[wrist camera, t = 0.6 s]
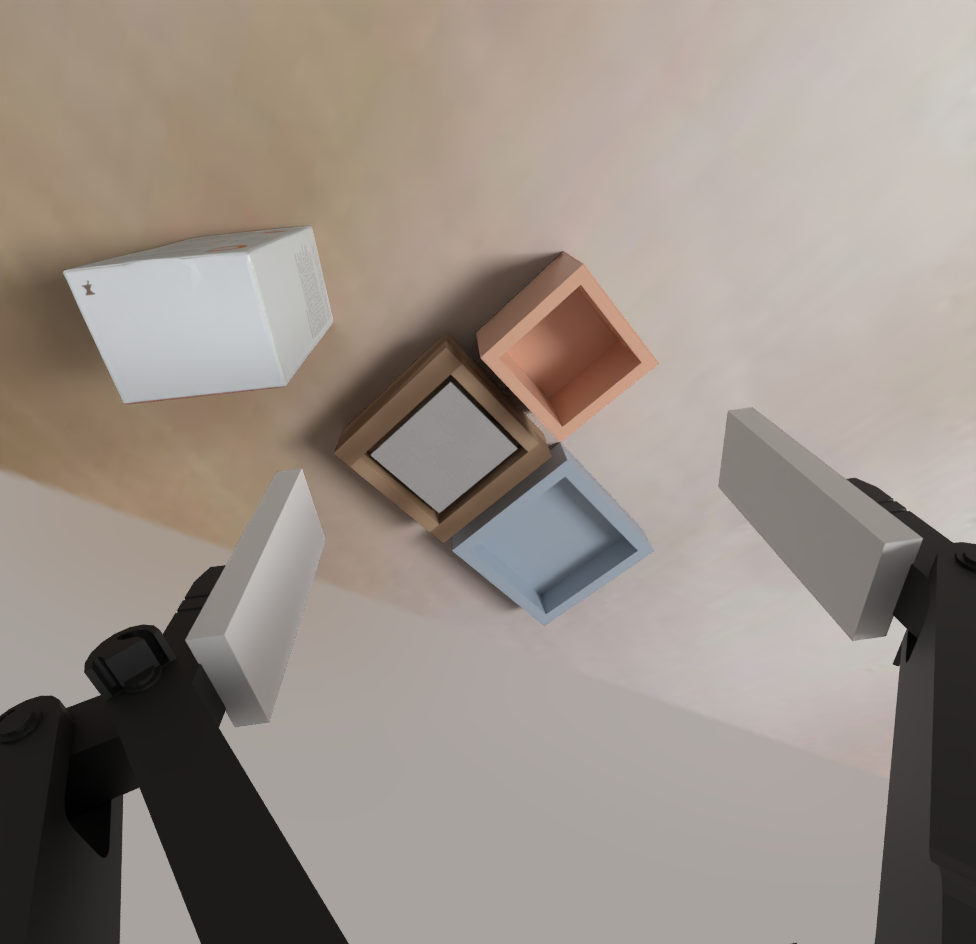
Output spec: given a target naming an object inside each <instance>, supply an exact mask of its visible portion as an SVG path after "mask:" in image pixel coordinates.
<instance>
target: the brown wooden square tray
mask: <svg viewBox="0 0 976 944" xmlns="http://www.w3.org/2000/svg"><path fill="white" fill-rule="evenodd" d="M450 376H451V377H452V378H453V379H454V380H455V381H456V382H457V383H458V384H459V385H460V386H461V387H462V388H463V389H464V390H465V391H466V392H467V393H468V394H469V395H470V396H471V397H472V398H473V399H474V400H475V401H476V402H477V403H478V404H479V405H480V406H481V407H482V408H483V409H484V410H485V411H486V412H487V413H488V414H489V415H490V416H491V417H492V418H493V419H494V420H495V421H496V422H497V423H498V424H499V425H500V426H501V427H502V428H503V429H504V430H505V431H506V432H507V433H508V434H509V435H510V436H511V437H512V438H513V439H514V440H515V441H516V444H517V448H518V449H517V450H516V451H514V452H513V453H512V454H511V455H509V456H508V457H507V458H506V459H505V460H503V461H502V462H501V463H500V464H499V465H497V466H496V467H495V468H494V469H492V470H491V471H490V472H489V473H488V474H486V475H485V476H484V477H483V478H481V479H480V480H479V481H478V482H477V483H475V484H474V485H473V486H472V487H471V488H469V489H468V490H467V491H466V492H464V493H463V494H462V495H461V496H460V497H458V498H457V499H456V500H455V501H454V502H452V503H451V504H450V505H449V506H447V507H446V508H445V509H444V510H443V511H441V512H440V513H438V512H437V511H436V510H435V509H434V508H432V507H431V506H430V505H429V504H428V503H426V502H425V501H424V500H423V499H422V498H421V497H419V496H418V495H417V494H416V493H415V492H413V491H412V490H411V489H410V488H409V487H408V486H406V485H405V484H404V483H403V482H402V481H400V480H399V479H398V478H397V477H396V476H394V475H393V474H392V473H391V472H390V471H389V470H387V469H386V468H385V467H384V466H383V465H381V464H380V463H379V462H378V461H377V460H376V459H374V458H373V457H372V456H371V451H372V448H373V447H374V446H375V445H376V444H377V443H378V442H379V441H380V440H381V439H383V438H384V437H385V436H386V435H387V434H388V433H389V432H390V431H391V430H392V429H393V428H395V427H396V426H397V425H398V424H399V423H400V422H401V421H402V420H403V419H404V418H405V417H407V416H408V415H409V414H410V413H411V412H412V411H413V410H414V409H415V408H416V407H417V406H419V405H420V404H421V403H422V402H423V401H424V400H425V399H426V398H427V397H428V396H429V395H431V394H432V393H433V392H434V391H435V390H436V389H437V388H438V387H439V386H440V385H441V384H443V383H444V382H445V381H446V380H447V379H448V378H449V377H450ZM333 454H335V455H336V456H337V457H338V458H340V459H341V460H342V461H343V462H344V463H346V464H347V465H348V466H349V467H351V468H352V469H353V470H354V471H355V472H357V473H358V474H359V475H360V476H362V477H363V478H364V479H365V480H367V481H368V482H369V483H370V484H371V485H373V486H374V487H375V488H376V489H378V490H379V491H380V492H381V493H382V494H384V495H385V496H386V497H387V498H389V499H390V500H391V501H392V502H393V503H395V504H396V505H397V506H398V507H400V508H401V509H402V510H403V511H404V512H406V513H407V514H408V515H409V516H411V517H412V518H413V519H414V520H415V521H417V522H418V523H419V524H420V525H422V526H423V527H424V528H425V529H426V530H428V531H429V532H430V533H431V534H433V535H434V536H435V537H436V538H438V539H439V540H440V541H441V542H442V543H444V542H446V541H447V540H448V539H449V538H451V537H452V536H453V535H455V534H456V533H457V532H458V531H460V530H461V529H462V528H463V527H465V526H466V525H467V524H468V523H470V522H471V521H472V520H473V519H475V518H476V517H477V516H478V515H480V514H481V513H482V512H483V511H485V510H486V509H487V508H488V507H490V506H491V505H492V504H493V503H495V502H496V501H497V500H498V499H500V498H501V497H502V496H503V495H505V494H506V493H507V492H508V491H510V490H511V489H512V488H513V487H515V486H516V485H517V484H518V483H520V482H521V481H522V480H523V479H525V478H526V477H527V476H528V475H530V474H531V473H532V472H533V471H535V470H536V469H537V468H539V467H540V466H541V465H542V464H544V463H545V462H546V461H547V460H549V459H550V458H551V457H552V456H551V453H550V450H549V448H548V445H547V442H546V440H545V437H544V434H543V433H542V432H541V431H540V430H539V429H538V428H537V427H536V425H535V424H534V423H533V422H532V421H531V420H530V419H529V418H528V417H527V416H526V415H525V414H524V413H523V412H522V411H521V410H520V409H519V408H518V407H517V406H516V405H515V404H514V402H513V401H512V400H511V399H510V398H509V397H508V396H507V395H506V394H505V393H504V392H503V391H502V390H501V389H500V388H499V387H498V386H497V385H496V384H495V383H494V382H493V380H492V379H491V378H490V377H489V376H488V375H487V374H486V373H485V372H484V371H483V370H482V369H481V368H480V367H479V366H478V365H477V364H476V363H475V362H474V361H473V360H472V358H471V357H470V356H469V355H468V354H467V353H466V352H465V351H464V350H463V349H462V348H461V347H460V346H459V345H458V344H457V343H456V342H455V341H454V340H453V339H452V338H451V337H450V335H449V334H448V333H447V332H445V333H444V334H443V335H442V336H441V337H440V338H439V339H438V340H437V341H436V342H435V343H434V344H433V345H432V346H431V347H430V348H429V349H428V350H427V351H426V352H424V353H423V354H422V355H421V356H420V357H419V358H418V359H417V360H416V361H415V362H414V363H413V364H412V365H411V366H410V367H409V368H408V369H407V370H406V371H405V372H403V373H402V374H401V375H400V376H399V377H398V378H397V379H396V380H395V381H394V382H393V383H392V384H391V385H390V386H389V387H388V388H387V389H386V390H385V391H384V392H382V393H381V394H380V395H379V396H378V397H377V398H376V399H375V400H374V401H373V402H372V403H371V404H370V405H369V406H368V407H367V408H366V409H365V410H364V411H363V412H362V413H360V414H359V415H358V416H357V417H356V418H355V419H354V420H353V421H352V422H351V423H350V424H349V425H348V426H347V427H346V428H345V429H344V430H343V432H342V434H341V437H340V439H339V441H338V444H337V446H336V449H335V451H334V453H333Z"/></svg>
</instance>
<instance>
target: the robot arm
mask: <svg viewBox="0 0 976 944" xmlns="http://www.w3.org/2000/svg"><path fill="white" fill-rule="evenodd" d="M718 487H719V488H720V489H721V490H722V491H723V493H724V494H725V495H726V496H727V497H728V498H729V500H730V501H731V502H732V503H733V504H734V505H735V506H736V508H737V509H738V510H739V511H740V512H741V513H742V514H743V516H744V517H745V518H746V519H747V520H748V521H749V523H750V524H751V525H752V526H753V527H754V528H755V529H756V531H757V532H758V533H759V534H760V535H761V536H762V537H763V539H764V540H765V541H766V542H767V543H768V544H769V546H770V547H771V548H772V549H773V550H774V551H775V552H776V554H777V555H778V556H779V557H780V558H781V559H782V560H783V562H784V563H785V564H786V565H787V566H788V567H789V569H790V570H791V571H792V572H793V573H794V574H795V575H796V577H797V578H798V579H799V580H800V581H801V582H802V583H803V585H804V586H805V587H806V588H807V589H808V590H809V592H810V593H811V594H812V595H813V596H814V597H815V598H816V600H817V601H818V602H819V603H820V604H821V605H822V606H823V608H824V609H825V610H826V611H827V612H828V613H829V615H830V616H831V617H832V618H833V619H834V620H835V621H836V623H837V624H838V625H839V626H840V627H841V628H842V629H843V631H844V632H845V633H846V634H847V635H848V636H849V638H850V639H851V640H852V641H855V640H862V639H869V638H876V637H883V636H886V635H887V632H888V630H889V627H890V624H891V622H892V619H893V616H895V617H896V618H897V619H898V620H899V621H900V622H901V623H902V624H903V625H904V626H905V627H906V628H907V630H906V633H905V635H904V638H903V640H902V642H901V645H900V647H899V650H898V652H897V655H896V657H895V660H894V662H893V665H896V666H899V665H900V671H899V682H898V693H897V705H896V716H895V727H894V738H893V749H892V760H891V771H890V783H889V794H888V805H887V816H886V827H885V838H884V850H883V860H882V872H881V883H880V894H879V905H878V917H877V928H876V937H875V944H976V544H971V543H964V542H959V543H953V542H951V541H950V540H949V539H947V538H946V537H944V536H943V535H942V534H940V533H939V532H938V531H936V530H935V529H934V528H932V527H931V526H929V525H928V524H927V523H925V522H924V521H923V520H921V519H920V518H918V517H917V516H916V515H914V514H913V513H912V512H910V511H907V510H906V508H905V507H903V506H902V505H901V504H899V503H898V502H897V501H895V502H894V501H893V498H891V497H890V496H888V495H887V494H886V493H884V492H883V491H882V490H880V489H879V488H877V487H875V486H873V485H871V484H868V483H866V482H864V481H861V480H859V479H857V478H850V479H845V478H844V477H843V476H841V475H840V474H839V473H837V472H836V471H835V470H833V469H832V468H831V467H830V466H828V465H827V464H826V463H824V462H823V461H822V460H820V459H819V458H818V457H817V456H815V455H814V454H813V453H811V452H810V451H809V450H807V449H806V448H805V447H804V446H802V445H801V444H800V443H798V442H797V441H796V440H794V439H793V438H792V437H791V436H789V435H788V434H787V433H785V432H784V431H783V430H781V429H780V428H779V427H777V426H776V425H775V424H774V423H772V422H771V421H770V420H768V419H767V418H766V417H764V416H763V415H762V414H761V413H759V412H758V411H757V410H755V409H754V408H753V407H752V408H744V409H737V410H729V411H728V414H727V422H726V430H725V438H724V446H723V454H722V462H721V469H720V477H719V485H718ZM325 541H326V539H325V536H324V533H323V530H322V527H321V524H320V521H319V518H318V515H317V512H316V509H315V506H314V503H313V500H312V497H311V494H310V491H309V488H308V485H307V482H306V479H305V476H304V473H303V470H302V468H300V469H293V470H285V471H278V472H276V474H275V476H274V478H273V479H272V481H271V483H270V485H269V487H268V489H267V490H266V492H265V494H264V496H263V498H262V500H261V501H260V503H259V505H258V507H257V509H256V511H255V513H254V514H253V516H252V518H251V520H250V522H249V524H248V525H247V527H246V529H245V531H244V533H243V535H242V536H241V538H240V540H239V542H238V544H237V546H236V548H235V549H234V551H233V553H232V555H231V557H230V559H229V560H228V562H227V564H226V565H224V566H216V567H210V568H209V569H208V570H207V571H206V572H204V573H203V574H202V575H201V576H200V577H199V578H198V579H197V580H196V581H195V582H194V583H193V585H192V586H191V588H190V590H189V591H188V593H187V595H186V596H185V600H184V601H182V603H181V605H180V606H179V608H178V610H177V611H178V613H175V615H174V617H173V618H172V620H171V621H170V623H169V625H168V626H167V628H166V630H165V631H164V633H163V634H162V633H161V631H160V630H159V629H158V628H156V627H155V626H154V625H139V626H134V627H129V628H127V629H125V630H123V631H121V632H118V633H116V634H114V635H112V636H111V637H109V638H108V639H106V640H105V641H103V642H102V643H101V644H100V645H99V646H98V647H97V648H96V649H95V650H94V651H92V653H91V654H90V655H89V657H88V659H87V660H86V662H85V670H84V673H85V674H86V675H87V677H88V678H89V679H90V681H91V682H92V683H93V685H94V686H95V688H96V689H97V690H98V691H99V693H100V694H101V695H100V696H97V697H95V698H92V699H89V700H87V701H84V702H81V703H79V704H76V705H73V706H71V707H68V708H65V706H64V705H63V704H62V703H61V701H60V700H59V699H57V698H55V697H53V696H39V697H35V698H32V699H29V700H26V701H24V702H22V703H20V704H18V705H16V706H14V707H12V708H11V709H9V710H8V711H6V712H5V713H4V714H2V715H1V716H0V944H119V943H120V906H121V863H122V862H121V861H122V819H123V794H125V793H128V792H130V791H132V790H135V789H137V788H139V787H140V790H141V792H142V795H143V798H144V800H145V802H146V805H147V807H148V810H149V813H150V815H151V818H152V820H153V823H154V825H155V828H156V830H157V833H158V836H159V838H160V841H161V843H162V846H163V848H164V851H165V853H166V856H167V858H168V861H169V864H170V866H171V869H172V871H173V874H174V876H175V879H176V881H177V884H178V886H179V889H180V891H181V894H182V897H183V899H184V902H185V904H186V907H187V909H188V912H189V914H190V917H191V919H192V922H193V924H194V927H195V929H196V932H197V935H198V937H199V940H200V942H201V944H348V942H347V940H346V938H345V937H344V935H343V934H342V932H341V930H340V929H339V927H338V925H337V924H336V922H335V920H334V919H333V917H332V915H331V914H330V912H329V910H328V909H327V907H326V905H325V904H324V902H323V900H322V899H321V897H320V895H319V894H318V892H317V890H316V889H315V887H314V885H313V884H312V882H311V881H310V879H309V877H308V875H307V874H306V872H305V871H304V869H303V867H302V866H301V864H300V862H299V861H298V859H297V857H296V855H295V854H294V852H293V850H292V849H291V847H290V846H289V844H288V842H287V841H286V839H285V837H284V836H283V834H282V832H281V831H280V829H279V827H278V826H277V824H276V822H275V821H274V819H273V817H272V816H271V814H270V813H269V811H268V809H267V807H266V806H265V804H264V802H263V801H262V799H261V797H260V796H259V794H258V792H257V791H256V789H255V787H254V786H253V784H252V783H251V781H250V779H249V778H248V776H247V774H246V773H245V771H244V769H243V768H242V766H241V764H240V763H239V761H238V759H237V758H236V756H235V754H234V753H233V751H232V749H231V748H230V746H229V744H228V743H227V741H226V740H225V738H224V736H223V734H222V733H221V731H220V729H219V726H220V723H221V720H222V718H223V715H224V713H225V711H226V713H227V714H228V716H229V718H230V720H231V721H232V723H233V725H234V726H235V727H239V726H247V725H253V724H261V723H267V722H269V721H270V718H271V715H272V712H273V708H274V705H275V702H276V699H277V696H278V692H279V689H280V686H281V682H282V680H283V676H284V673H285V670H286V667H287V664H288V660H289V657H290V654H291V651H292V647H293V644H294V641H295V638H296V634H297V631H298V628H299V625H300V622H301V618H302V615H303V612H304V609H305V606H306V602H307V599H308V596H309V593H310V590H311V586H312V583H313V580H314V577H315V574H316V570H317V567H318V564H319V561H320V557H321V554H322V551H323V548H324V545H325ZM793 944H797V943H793Z"/></svg>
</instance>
